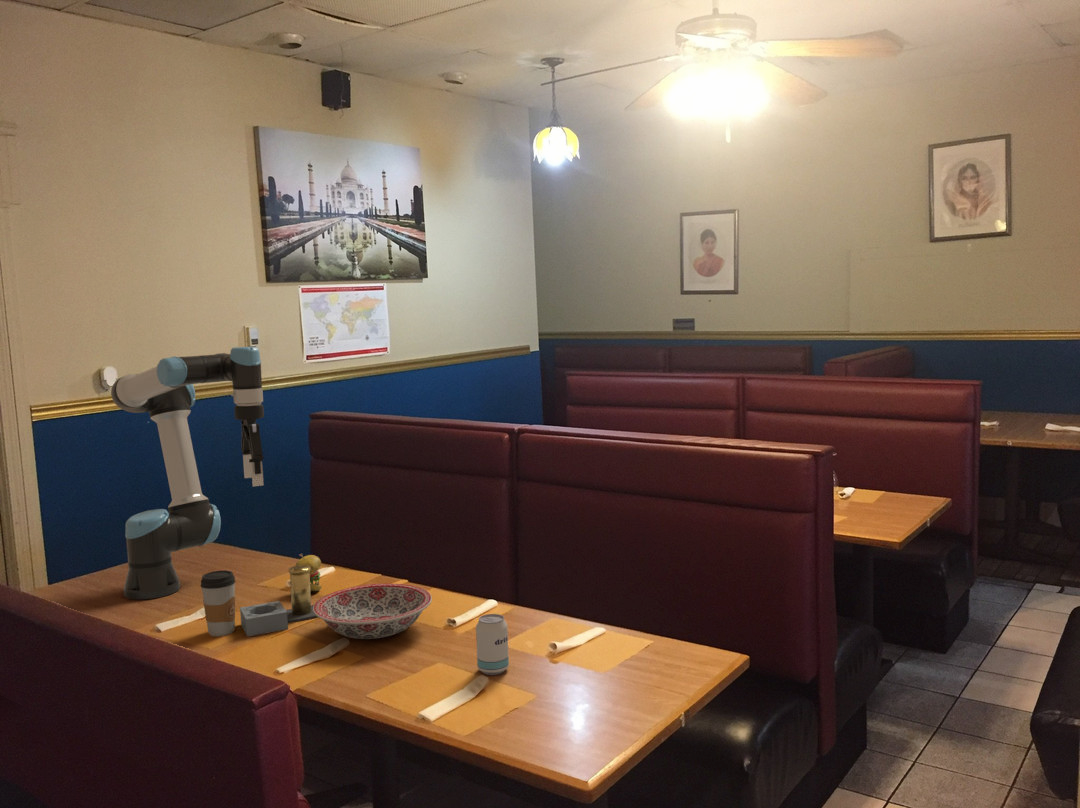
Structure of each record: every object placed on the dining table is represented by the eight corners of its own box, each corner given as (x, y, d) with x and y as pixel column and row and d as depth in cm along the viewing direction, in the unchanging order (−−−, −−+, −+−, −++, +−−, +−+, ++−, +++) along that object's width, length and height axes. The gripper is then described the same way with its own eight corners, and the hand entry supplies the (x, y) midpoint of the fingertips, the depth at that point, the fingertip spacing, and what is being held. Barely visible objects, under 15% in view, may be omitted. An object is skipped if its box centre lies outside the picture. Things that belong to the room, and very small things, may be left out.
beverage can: (497, 679, 192) (495, 625, 190) (471, 673, 195) (469, 620, 194) (514, 668, 197) (513, 615, 196) (489, 662, 201) (487, 611, 200)
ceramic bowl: (454, 620, 229) (453, 590, 228) (390, 662, 203) (388, 628, 202) (361, 607, 241) (360, 578, 240) (289, 645, 215) (287, 613, 214)
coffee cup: (227, 638, 220) (223, 580, 219) (197, 637, 222) (193, 579, 220) (245, 626, 229) (241, 570, 227) (215, 625, 230) (211, 569, 229)
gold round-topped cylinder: (289, 610, 238) (286, 567, 237) (310, 607, 240) (307, 564, 239) (293, 616, 233) (290, 572, 232) (314, 613, 235) (312, 569, 234)
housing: (241, 624, 230) (239, 607, 230) (280, 617, 235) (279, 600, 234) (247, 636, 222) (246, 619, 221) (288, 628, 226) (286, 611, 226)
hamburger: (328, 590, 256) (326, 550, 255) (309, 598, 250) (307, 556, 249) (309, 586, 260) (307, 547, 259) (290, 594, 254) (288, 553, 253)
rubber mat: (281, 612, 238) (281, 610, 238) (315, 606, 243) (315, 604, 242) (288, 622, 231) (288, 620, 230) (323, 616, 235) (322, 614, 234)
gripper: (227, 401, 249) (232, 475, 251) (241, 409, 226) (246, 491, 229) (255, 399, 252) (259, 472, 254) (271, 407, 230) (276, 487, 232)
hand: (253, 481), depth 241 cm, fingers open, 13 cm apart
